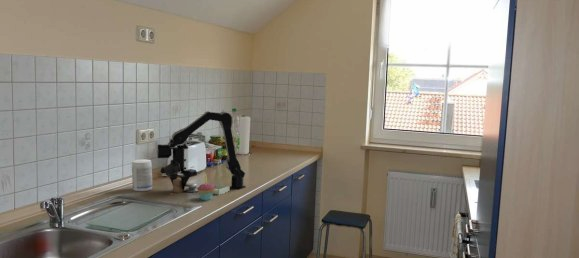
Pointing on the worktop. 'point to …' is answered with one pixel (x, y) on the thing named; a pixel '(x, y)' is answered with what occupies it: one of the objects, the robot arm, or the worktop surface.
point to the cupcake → (206, 190)
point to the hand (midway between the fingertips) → (178, 188)
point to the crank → (191, 185)
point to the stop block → (177, 186)
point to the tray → (221, 189)
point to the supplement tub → (142, 175)
